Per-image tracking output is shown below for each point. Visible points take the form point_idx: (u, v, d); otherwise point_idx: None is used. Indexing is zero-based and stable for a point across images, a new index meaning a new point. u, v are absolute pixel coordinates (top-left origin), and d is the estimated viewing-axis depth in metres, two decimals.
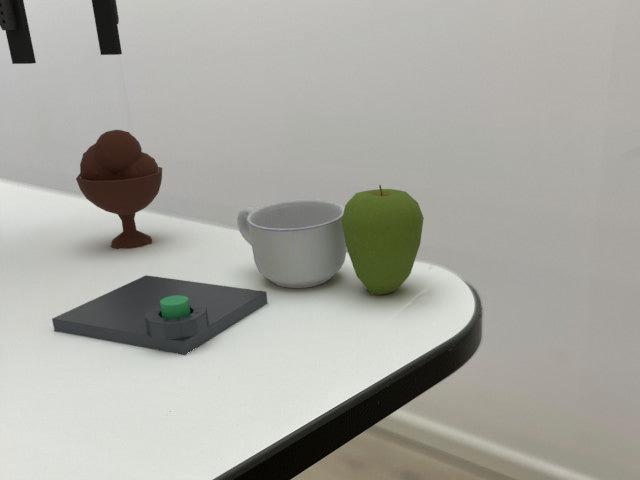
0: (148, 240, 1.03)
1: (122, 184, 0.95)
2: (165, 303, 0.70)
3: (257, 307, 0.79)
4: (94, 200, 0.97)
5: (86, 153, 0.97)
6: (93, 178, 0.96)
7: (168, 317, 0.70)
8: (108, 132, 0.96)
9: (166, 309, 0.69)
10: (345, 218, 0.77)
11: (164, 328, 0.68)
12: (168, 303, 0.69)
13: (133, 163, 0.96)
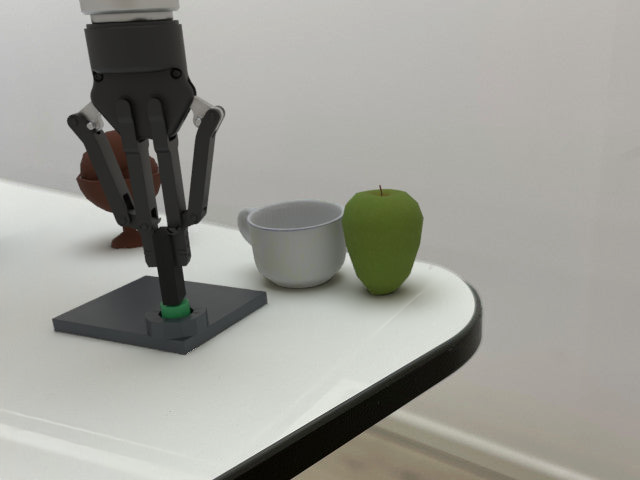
0: None
1: None
2: (165, 305, 0.70)
3: (257, 307, 0.79)
4: (94, 200, 0.97)
5: (86, 153, 0.97)
6: (93, 178, 0.96)
7: None
8: (108, 132, 0.96)
9: (166, 311, 0.69)
10: (345, 218, 0.77)
11: (164, 328, 0.68)
12: (168, 305, 0.70)
13: None
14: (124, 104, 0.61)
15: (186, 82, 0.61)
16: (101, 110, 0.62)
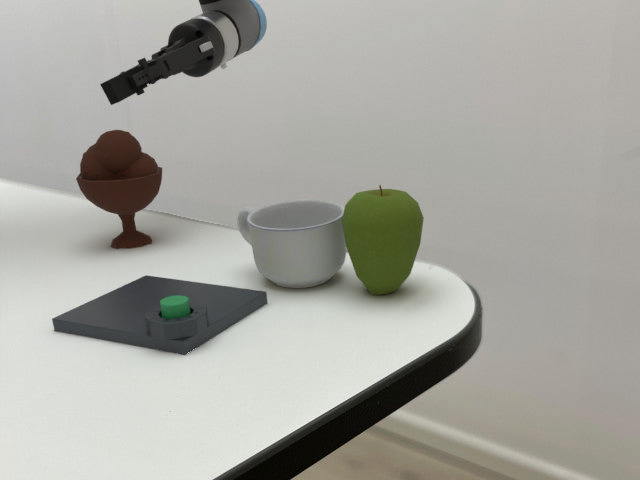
0: (148, 240, 1.03)
1: (122, 184, 0.95)
2: (165, 303, 0.70)
3: (257, 307, 0.79)
4: (94, 200, 0.97)
5: (86, 153, 0.97)
6: (93, 178, 0.96)
7: (168, 317, 0.70)
8: (108, 132, 0.96)
9: (166, 309, 0.69)
10: (345, 218, 0.77)
11: (164, 328, 0.68)
12: (168, 303, 0.69)
13: (133, 163, 0.96)
14: None
15: None
16: None
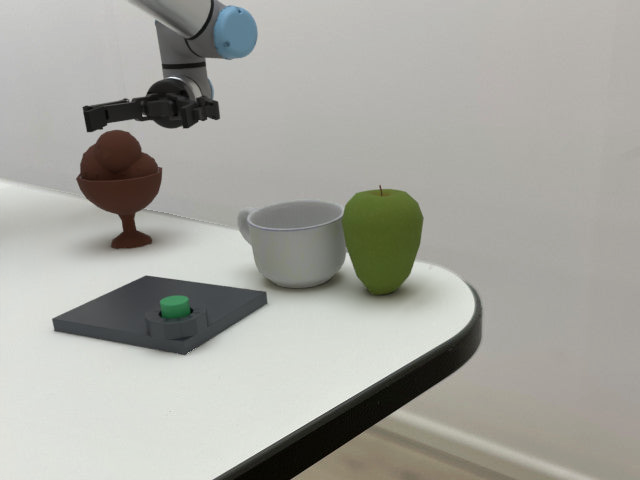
0: (148, 240, 1.03)
1: (122, 184, 0.95)
2: (165, 303, 0.70)
3: (257, 307, 0.79)
4: (94, 200, 0.97)
5: (86, 153, 0.97)
6: (93, 178, 0.96)
7: (168, 317, 0.70)
8: (108, 132, 0.96)
9: (166, 309, 0.69)
10: (345, 218, 0.77)
11: (164, 328, 0.68)
12: (168, 303, 0.69)
13: (133, 163, 0.96)
14: (171, 119, 1.20)
15: None
16: None
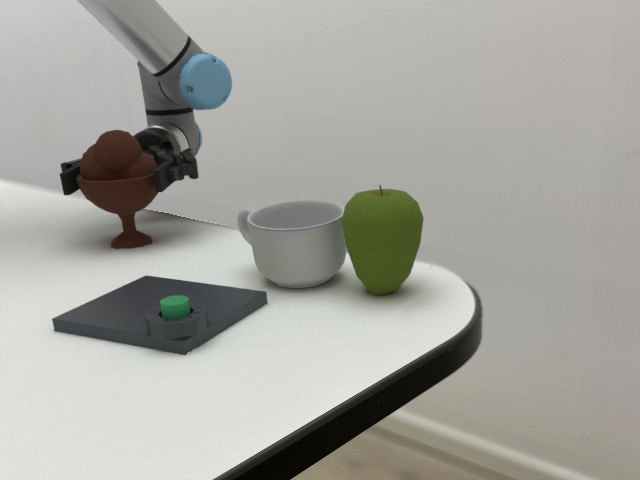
0: (148, 240, 1.03)
1: (122, 184, 0.95)
2: (165, 303, 0.70)
3: (257, 307, 0.79)
4: (94, 200, 0.97)
5: (86, 153, 0.97)
6: (93, 178, 0.96)
7: (168, 317, 0.70)
8: (108, 132, 0.96)
9: (166, 309, 0.69)
10: (345, 218, 0.77)
11: (164, 328, 0.68)
12: (168, 303, 0.69)
13: (132, 163, 0.96)
14: None
15: None
16: None
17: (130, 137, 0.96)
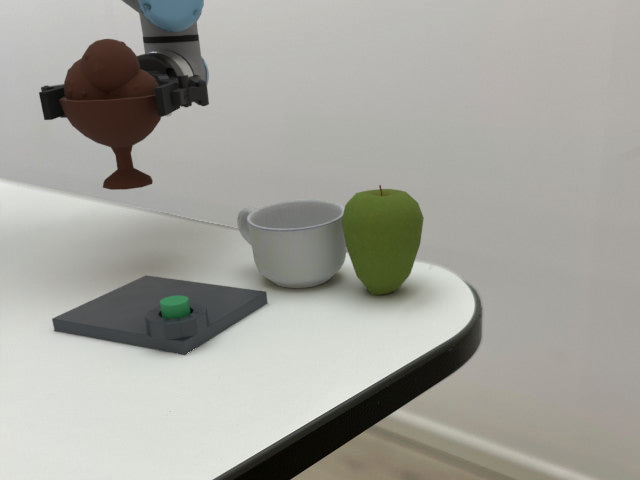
0: (148, 180, 0.85)
1: (116, 104, 0.77)
2: (165, 303, 0.70)
3: (257, 307, 0.79)
4: (82, 126, 0.79)
5: (71, 68, 0.79)
6: (80, 99, 0.78)
7: (168, 317, 0.70)
8: (98, 41, 0.77)
9: (166, 309, 0.69)
10: (345, 218, 0.77)
11: (164, 328, 0.68)
12: (168, 303, 0.69)
13: (129, 80, 0.78)
14: None
15: None
16: None
17: (126, 48, 0.78)
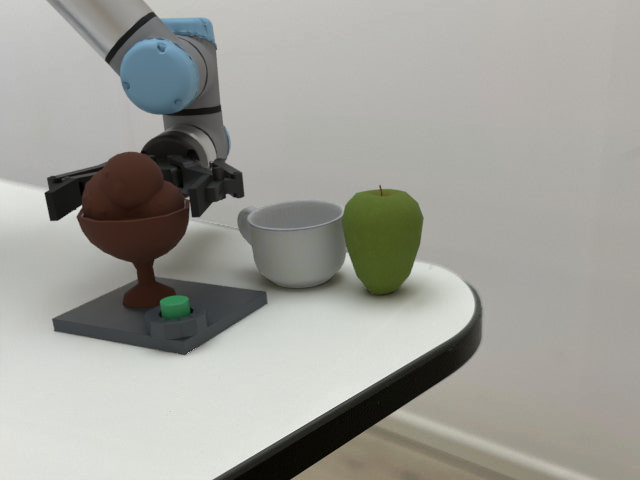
0: (171, 294, 0.78)
1: (138, 225, 0.71)
2: (165, 303, 0.70)
3: (257, 307, 0.79)
4: (101, 245, 0.73)
5: (90, 183, 0.73)
6: (99, 216, 0.72)
7: (168, 317, 0.70)
8: (119, 155, 0.71)
9: (166, 309, 0.69)
10: (345, 218, 0.77)
11: (164, 328, 0.68)
12: (168, 303, 0.69)
13: (152, 196, 0.72)
14: None
15: None
16: None
17: (149, 162, 0.72)
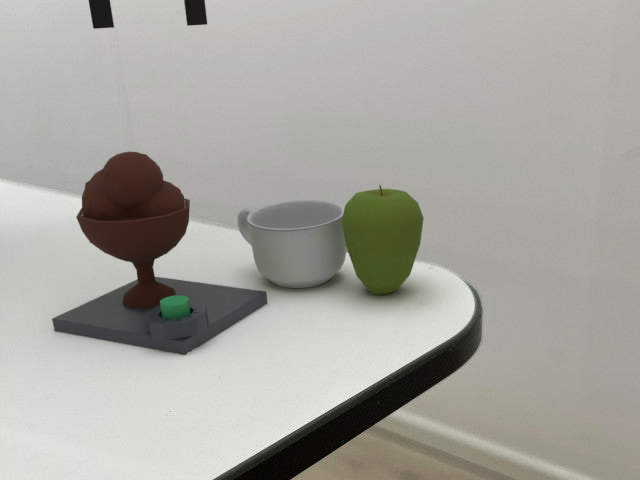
0: (171, 294, 0.78)
1: (138, 225, 0.71)
2: (165, 303, 0.70)
3: (257, 307, 0.79)
4: (101, 245, 0.73)
5: (90, 183, 0.73)
6: (99, 216, 0.72)
7: (168, 317, 0.70)
8: (119, 155, 0.71)
9: (166, 309, 0.69)
10: (345, 218, 0.77)
11: (164, 328, 0.68)
12: (168, 303, 0.69)
13: (152, 196, 0.72)
14: None
15: None
16: None
17: (149, 162, 0.72)
